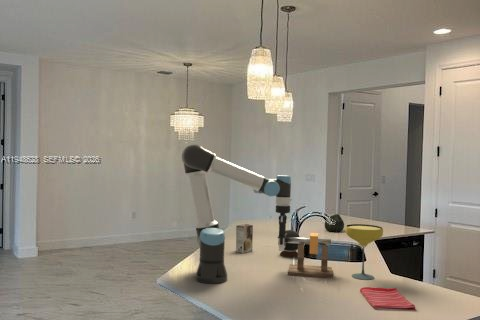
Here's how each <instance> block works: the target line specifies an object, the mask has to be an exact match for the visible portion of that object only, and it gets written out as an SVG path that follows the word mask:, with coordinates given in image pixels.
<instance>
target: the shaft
mask: <svg viewBox="0 0 480 320" xmlns="http://www.w3.org/2000/svg"><path fill="white" fill-rule="evenodd" d="M277 239H278V240H277V241H278V246H279V238H278V237H277ZM286 243H298V244H304V245H310V237H300V238H297V237H286V234H284V245H286ZM322 245H328V246H331V245H332V239H330V238H318V246H322Z"/></svg>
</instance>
